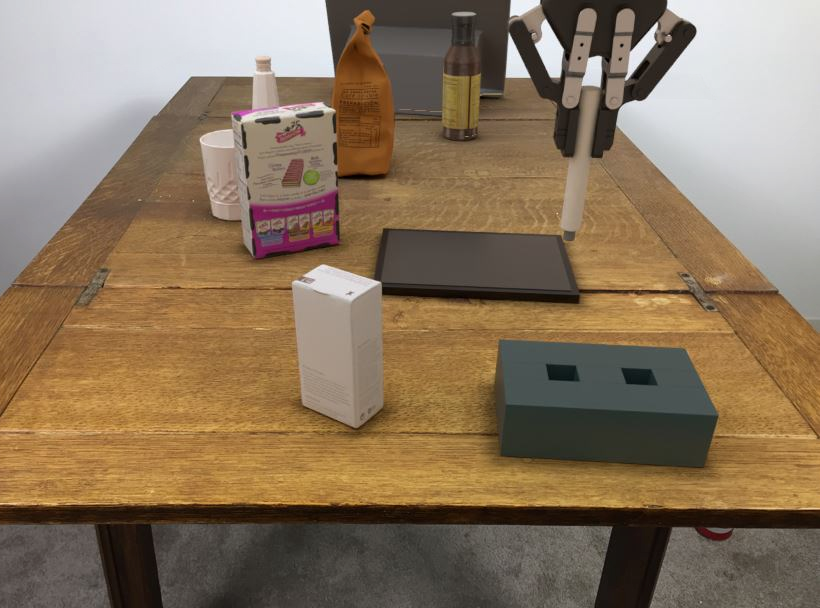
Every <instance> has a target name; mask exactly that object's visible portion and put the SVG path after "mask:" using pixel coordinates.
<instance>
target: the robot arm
mask: <svg viewBox="0 0 820 608" xmlns="http://www.w3.org/2000/svg"><path fill="white" fill-rule="evenodd" d="M668 3H669V2H668V0H540V1H539V4H538V5H537V6H534V7H533V8H531V9H530V10H528V11H526V12H524V13H523V14H520V15H514V14H513V15H510V18H509V19H508V21H507V24H506V25H507V29H508V31H509V36H510V38H511V41H512V42H513V44H514V46H515V48H516V50H517V52H518V54H519V56H520V58H521V61H522V62H523V65H524V67H525V70H526V71H527V73H528V75H529V77H530V79H531V82H532V83H533V86H534V87H535V90H536V92H537V94H538V96H539V97H540V98H541V99H544V100H549V101H552V102H554V103H555V104H556V112H555V119H554V128H553V135H552V138H553V141H554V145H555V148H556V150H560V154H561V156H562V158H568V159H570V158H573V155H574V149H575V142H576V134H577V127H578V120H579V113H580V109H579V107H577V104H578V102H579V97H580V92H581V87H582V86H583V81H584V77H585V75H586V73H587V67H588V61H589V59H591V58H595V57H601V61H600V63H601V64H600V65H601V77H600V85H599V87H600V88H601V89H602V91H601V97H600V104H599V109H598V116H597V122H596V129H595V136H594V142H593V149H592V156H591V159H603V157H604V152H605V151H606V152H607V151H608V152H610V150H611V149H612V147H613V145H614V140H615V135H616V129H617V124H618V117H619V111H620V109H621V108H622V107H623V106H624V105H625V104H627V103H631V102H634V101H637V102H642V101H645V100H646V99H647V98H648V97H649V95H650V94H651V93H652V92H653V91H654V89H655V88H656V87H657V85H658V84H659V83H660V82H661V81H662V80H663V78H664V77H665V75H666V74H667V73H668V72H669V70H670V69H671V68H672V67H673V65H674V64H675V63H676V61H677V60H678V59H679V58H680V56H682V55H683V53H684V52H685V50H686V49H687V47H688V46H689V45H690V44H691V43H692V42H693V40H694V39H695V38H696V36H697V31H698V30H697V27H696V26H695V24H693V23H692V22H691V21H689V20H687V19H685V18H682V17H680V16H678V15H677V14H676V13H674V12H673V11H672V10H670V9H669V8H668ZM545 20H546V22H547V24H548V26H549V27H550V29H551V31H552V32H553V34H554V36H555V38H556V39H557V41H558V43H559V45H560V46H561V48H562V49H563V53H562V57H561V69H560V70H561V71H560V77H559V80H556V79H554V78H552V77H551V76H550V74H549V71H548V70H547V67H546V65H545V64H544V61H543V58H542V56H541V55H540V52H539V50H538V48H537V46H536V44H538V43H539V42H540V41H541V39H542V37H543V31H542V24H543V23H544V21H545ZM656 24H657V27H656V30H655V31H654V34H653V39H654V41H655V44H654V45H653V46H652V47H651V48H650V50H649V51H648V52H647V54H646V55H645V56H644V58H643V59H642V60H641V61H640V63H639V64H638V66H637V67H636V68H635V69H634V71H633V72H632V73H631V74H630V76H629V77H628V78H627V79H626V77H627V76H628V72H629V63H630V56H631V55H630V54H631V52H633V50H634V49H635V48H636V46H637V45H639V43H640V42H641V41H642V40H643V39H644V38H645V37H646V35H647V34H648V33H649V32H650V31H651V29H652V28H653V27H654V26H655V25H656Z"/></svg>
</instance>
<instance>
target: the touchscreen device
mask: <svg viewBox="0 0 820 608" xmlns="http://www.w3.org/2000/svg"><path fill="white" fill-rule="evenodd" d="M324 2H325V10H326V18H327V27H328V33H329V40H330V41H329V42H330V49H331V55H332V64H333V74H334V77H335V76H336V70H337V65H338V63H339V60H340V57H341V55H342V53H343V51H344V49H345V48H346V46H347V45H348V43H349V42H350V40H351V38H352V37H353V35H354V34H355V32H356V30H357V27H356V25H355V23H354V18H356V17H357V16H359V15H360V14H362V13H363V12H364V11H366V10H369V11H370V13H371V14H372V15H373V16H374V17H375V21H374V23H373V24H372V25H371V29H372V32H371V33H370V34H369V37H370V41H371V44H372V48H373V49H374V50H375V52H376V53H377V55H378V56H379V58H380V59H381V61H382V63H383V65H384V67H385V69H386V71H387V74H388V77H389V80H390V83H391V89H392V97H393V106H394V114H401V115H402V114H403V115H404V114H405V115H415V116H416V115H417V116H418V115H419V116H430V117H431V116H433V117H442V112H430V111H442V108H443V68H444V58H445V55H446V53H447V51H448V50H449V48H450V46H451V45H452V44H451V38H452V23H451V15H452V13H456V12H473V13H476V21H477V22H476V24H475V47H476V48H477V50H478V52H479V54H480V58H481V64H480V72H481V79H480V94H483V93H502V94H503V93H504V95H482V96H480V98H488V99H489V98H490V99H500V98H503V97H504V96H505V90H506V89H505V88H506V79H507V66H508V65H507V64H508V51H509V49H508V48H509V38H510V37H509V36H510V33H509V31H508V29H507V25H506V24H507V21H508V19H509V18H510V17H511V7H512V6H511V5H512V0H324ZM399 109H411V110H399ZM415 110H426V111H415Z"/></svg>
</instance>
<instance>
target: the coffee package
mask: <svg viewBox="0 0 820 608" xmlns="http://www.w3.org/2000/svg"><path fill="white" fill-rule="evenodd" d="M374 21H375V17H374V16H373V15H372V14H371V13H370V11H369V10H366V11H364V12H363V13H362V14H360V15H359V16H357V17H356V18H354V23H355V25H356V27H357V30H356V32H355V34H354V35H353V37H352V38H351V40H350V42H349V43H348V45H347V46H346V48H345V49H344V51H343V53H342V55H341V57H340V60H339V63H338V65H337V70H336V76H335V75H334V82H333V87H332V92H331V101H330V107H331V108H332V109H334V110H336V135H337V164H338V178H341V177H346V176H348V177H349V176H358V175H365V176H366V175H367V176H377V175H382V174H384V175H385V174H387V173H388V172H389V170H390V166H391V161H392V157H393V150H394V141H395V125H396V124H395V123H396V122H395V121H396V119H395V118H396V117H395V113H394V106H393V97H392V89H391V83H390V80H389V77H388V74H387V71H386V69H385V67H384V65H383V63H382V61H381V59H380V58H379V56H378V55H377V53H376V52H375V50H374V49H373V48H372V44H371V41H370V37H369V34H370V33H371V32H372V29H371V25H372V24H373V23H374Z"/></svg>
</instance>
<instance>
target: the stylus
mask: <svg viewBox="0 0 820 608" xmlns="http://www.w3.org/2000/svg"><path fill="white" fill-rule="evenodd" d="M601 91H602V89H601V88H600V86H596V85H582V87H581V92H580V97H579V102H578V104H577V107H579V109H580V113H579V120H578V127H577V134H576V142H575V149H574V155H573V158H568V159H569V160H568V165H567V166H568V167H567V173H566V174H567V175H566V182H565V187H564V188H565V189H564V197H563V204H562V209H561V210H562V211H561V219H560V225H559V226H560V229H562V230H563V235H562V239H563V241H565V242H574V241H575V239H576V233H577V232H578V231H580V230H581V228H582V223H583V217H584V216H583V215H584V209H585V202H586V196H587V189H588V183H589V177H590V169H591V164H592V163H591V162H592V157H591V156H592V149H593V142H594V136H595V129H596V122H597V116H598V109H599V104H600V97H601Z"/></svg>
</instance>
